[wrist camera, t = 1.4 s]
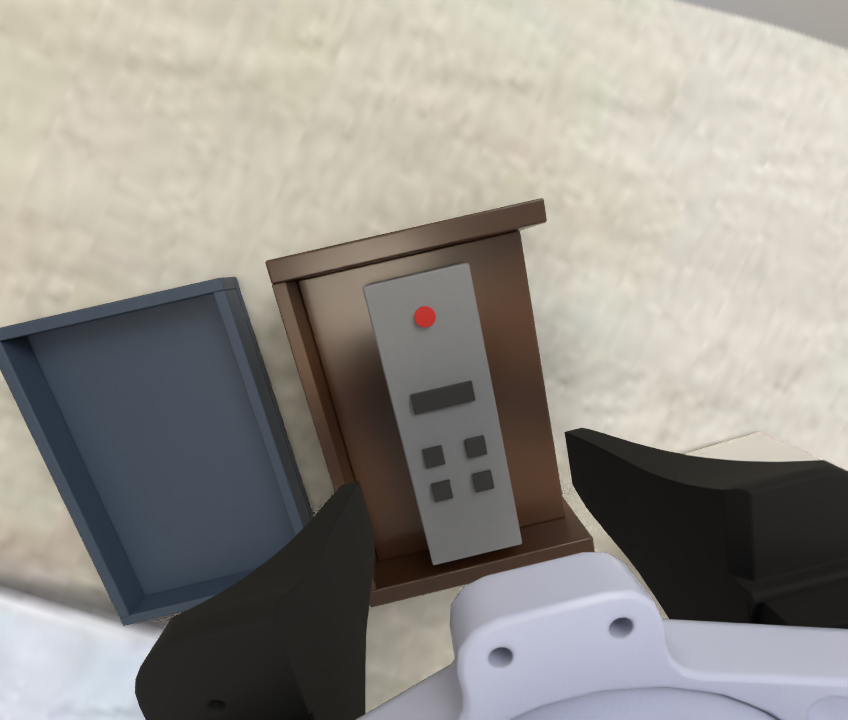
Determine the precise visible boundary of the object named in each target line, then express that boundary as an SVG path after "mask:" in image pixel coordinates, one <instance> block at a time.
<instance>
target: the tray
mask: <svg viewBox="0 0 848 720" xmlns="http://www.w3.org/2000/svg"><path fill="white" fill-rule="evenodd" d="M0 370H1V372H2V374H3V376H4V378H5V380H6V382H7V384H8V386H9V389H10V391H11V393H12V395H13V397H14V399H15V401H16V403H17V405H18V407H19V409H20V411H21V413H22V416H23V418H24V420H25V422H26V424H27V426H28V428H29V430H30V432H31V434H32V436H33V438H34V440H35V443H36V445H37V447H38V449H39V451H40V453H41V455H42V457H43V459H44V461H45V463H46V465H47V468H48V470H49V472H50V474H51V476H52V478H53V480H54V482H55V484H56V486H57V488H58V490H59V492H60V495H61V497H62V499H63V501H64V503H65V505H66V507H67V509H68V511H69V513H70V515H71V517H72V519H73V522H74V524H75V526H76V528H77V530H78V532H79V534H80V536H81V538H82V540H83V542H84V544H85V547H86V549H87V551H88V553H89V555H90V557H91V559H92V561H93V563H94V565H95V567H96V569H97V571H98V574H99V576H100V578H101V580H102V582H103V584H104V586H105V588H106V590H107V592H108V594H109V596H110V599H111V601H112V603H113V605H114V607H115V609H116V611H117V613H118V615H119V617H120V619H121V621H122V623H123V625H124V626H125V625H129V624H133V623H137V622H142V621H146V620H150V619H154V618H158V617H162V616H166V615H171V614H175V613H179V612H183V611H187V610H189V609H191V608H193V607H194V606H196V605H198V604H200V603H202V602H204V601H206V600H208V599H210V598H212V597H213V596H215V595H217V594H219V593H220V592H222V591H224V590H225V589H227V588H229V587H230V586H232V585H233V584H235V583H236V582H238V581H240V580H241V579H243V578H244V577H246V576H247V575H248V574H250V573H251V572H252V571H254V570H255V569H257V568H258V567H259V566H261V565H262V564H263V563H265V562H266V561H267V560H269V559H270V558H271V557H273V556H274V555H275V554H276V553H277V552H278V551H280V550H281V549H282V548H283V547H284V546H285V545H287V544H288V543H289V542H290V541H291V540H292V539H293V538H294V537H295V536H296V535H297V534H298V533H299V532H300V531H301V530H302V529H303V528H304V527H305V526H306V525H307V524H308V523H309V521H310V520H311V519H312V518H313V514H312V511H311V508H310V505H309V502H308V499H307V496H306V493H305V490H304V486H303V483H302V480H301V477H300V474H299V471H298V468H297V465H296V462H295V459H294V456H293V452H292V449H291V446H290V443H289V440H288V437H287V434H286V431H285V428H284V425H283V422H282V419H281V415H280V412H279V409H278V406H277V403H276V400H275V397H274V394H273V391H272V388H271V385H270V381H269V378H268V375H267V372H266V369H265V366H264V363H263V360H262V357H261V354H260V351H259V347H258V344H257V341H256V338H255V335H254V332H253V329H252V326H251V323H250V320H249V317H248V314H247V310H246V307H245V304H244V301H243V298H242V295H241V292H240V289H239V286H238V283H237V280H236V277H228V278H217V279H213V280H208V281H204V282H200V283H195V284H191V285H186V286H182V287H178V288H173V289H169V290H164V291H160V292H156V293H151V294H147V295H142V296H138V297H134V298H129V299H125V300H120V301H116V302H112V303H107V304H103V305H98V306H94V307H90V308H85V309H81V310H76V311H72V312H68V313H63V314H59V315H54V316H50V317H46V318H41V319H37V320H32V321H28V322H24V323H19V324H15V325H10V326H6V327H2V328H0Z"/></svg>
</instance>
